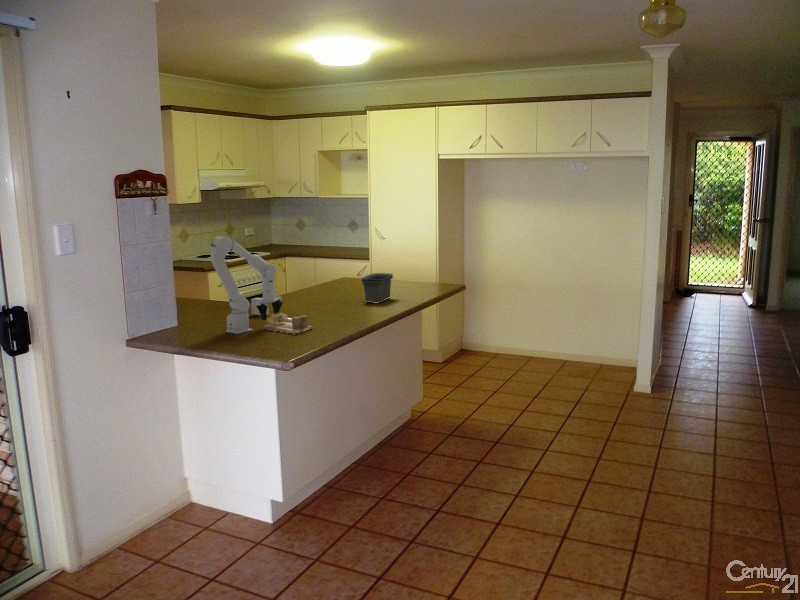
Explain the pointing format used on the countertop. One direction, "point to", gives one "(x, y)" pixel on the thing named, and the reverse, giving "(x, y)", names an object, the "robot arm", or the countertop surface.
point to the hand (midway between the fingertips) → (270, 318)
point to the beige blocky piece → (291, 325)
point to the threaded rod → (285, 319)
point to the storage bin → (377, 286)
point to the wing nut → (276, 318)
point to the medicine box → (254, 308)
